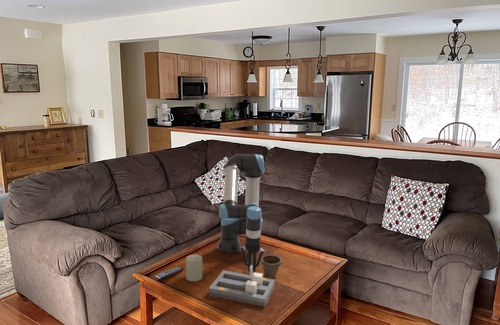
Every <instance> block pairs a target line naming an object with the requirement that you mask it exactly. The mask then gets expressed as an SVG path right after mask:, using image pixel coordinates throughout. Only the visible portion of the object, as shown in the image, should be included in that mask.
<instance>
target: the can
mask: <svg viewBox="0 0 500 325" xmlns="http://www.w3.org/2000/svg"><path fill="white" fill-rule="evenodd" d="M185 270H186V271H185V279H186V280H188V281H190V282H198V281H200V280H202V279H203V256H201V255H200V254H190V255H187V256H186V258H185Z"/></svg>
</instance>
